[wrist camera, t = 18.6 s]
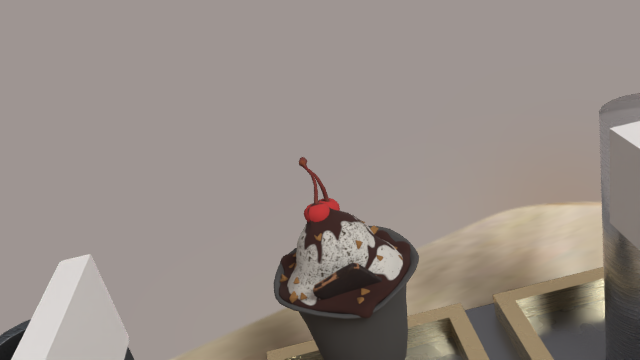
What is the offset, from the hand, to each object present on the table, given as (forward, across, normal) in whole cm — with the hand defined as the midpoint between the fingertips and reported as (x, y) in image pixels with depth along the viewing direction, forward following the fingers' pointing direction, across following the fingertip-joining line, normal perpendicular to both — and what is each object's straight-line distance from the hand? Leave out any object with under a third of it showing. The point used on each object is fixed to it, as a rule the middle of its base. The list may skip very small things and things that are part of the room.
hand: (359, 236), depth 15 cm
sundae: (+10, 0, -18) cm, 20 cm away
